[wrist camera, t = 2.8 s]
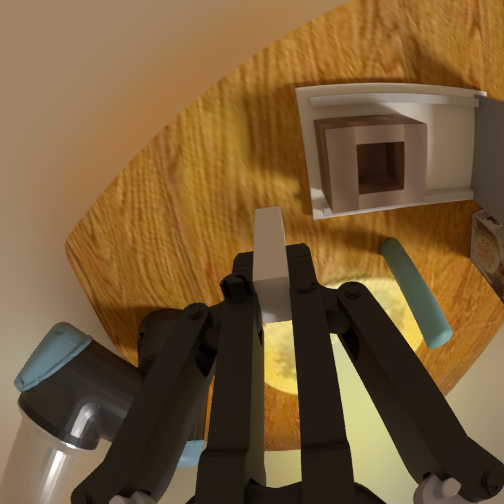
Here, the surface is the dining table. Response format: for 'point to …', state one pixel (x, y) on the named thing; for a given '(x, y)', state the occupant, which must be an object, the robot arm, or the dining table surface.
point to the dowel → (417, 295)
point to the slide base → (438, 135)
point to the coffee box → (488, 249)
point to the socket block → (371, 161)
